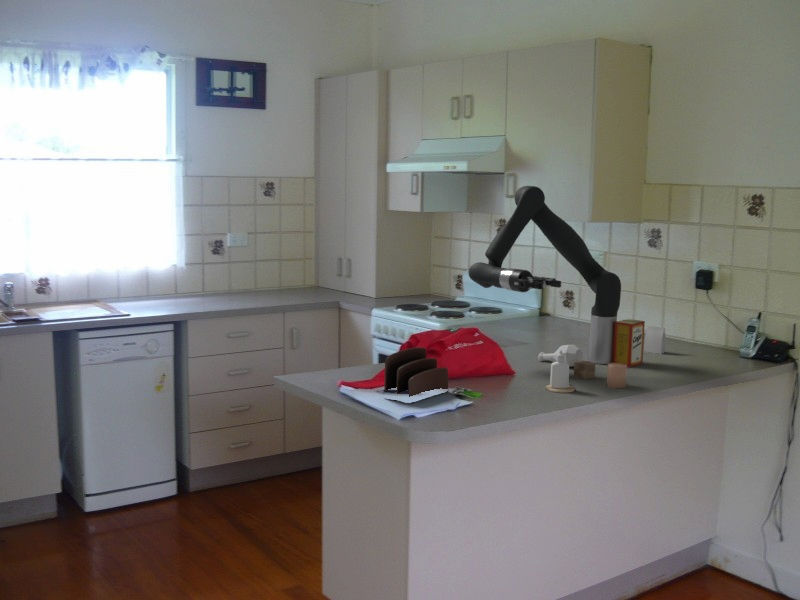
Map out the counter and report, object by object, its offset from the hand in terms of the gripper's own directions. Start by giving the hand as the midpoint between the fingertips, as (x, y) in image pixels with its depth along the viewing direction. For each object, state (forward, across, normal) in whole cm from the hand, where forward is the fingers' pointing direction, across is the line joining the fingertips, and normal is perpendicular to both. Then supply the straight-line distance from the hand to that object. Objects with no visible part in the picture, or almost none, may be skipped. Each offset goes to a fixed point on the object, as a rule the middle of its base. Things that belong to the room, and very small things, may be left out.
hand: (551, 285), depth 284 cm
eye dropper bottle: (+10, -5, +32) cm, 33 cm away
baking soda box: (-2, +45, +32) cm, 55 cm away
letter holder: (-10, -47, +32) cm, 58 cm away
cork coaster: (+10, -5, +32) cm, 34 cm away
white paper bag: (-10, +70, +32) cm, 78 cm away
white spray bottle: (-16, +23, +32) cm, 43 cm away
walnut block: (+2, +15, +32) cm, 36 cm away
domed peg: (+17, +14, +32) cm, 39 cm away
